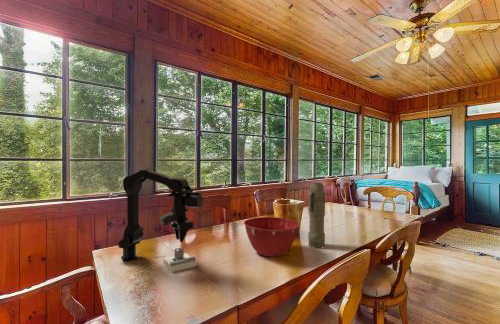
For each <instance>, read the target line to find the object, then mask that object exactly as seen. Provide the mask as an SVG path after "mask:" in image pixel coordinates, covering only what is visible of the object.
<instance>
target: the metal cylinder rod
mask: <svg viewBox="0 0 500 324" xmlns="http://www.w3.org/2000/svg"><path fill="white" fill-rule="evenodd" d="M184 250H185V249H184V248H183V247H179V248H174V256H175V260H174V261H178V260H182V259H184V254H185V252H184Z"/></svg>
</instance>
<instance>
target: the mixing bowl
mask: <svg viewBox="0 0 500 324" xmlns="http://www.w3.org/2000/svg"><path fill="white" fill-rule="evenodd" d="M243 224H244V228H245V231H246V234H247V238H248V240H249V243H250V245H251V247H252V249H254V251H255V252H256V253H258V254H259V255H261V256H264V257H269V256H270V257H272V258H274V257H280V256H283V255H284V254H286V253H288V251H289V250H290V249H291V247H292V245H293V243H294V241H295V240H296V236H297V234H298V229H299V227H300V223H299V222H298V221H296V220H293V219H290V218H286V217H285V218H284V217H275V216H273V217H271V216H261V217H253V218H248V219H245V220H244V221H243Z"/></svg>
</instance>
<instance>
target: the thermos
mask: <svg viewBox="0 0 500 324" xmlns="http://www.w3.org/2000/svg"><path fill="white" fill-rule="evenodd" d="M325 192H326V191H325V187H324V184H323V183H321V182H312V183H311V184H310V187H309V192H308V198H307V199H308V201H307V204H308V205H307V210H308V215H309V231H308V239H307V240H308V247H310V246H311V247H310V248H312V247H314V248H313V249H323V248H322V247H324V248H325V243H326V234H325V215H326V193H325Z"/></svg>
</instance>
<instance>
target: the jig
mask: <svg viewBox="0 0 500 324" xmlns="http://www.w3.org/2000/svg"><path fill="white" fill-rule="evenodd" d="M174 260H175V255H172V256H167V257H164V258H163V261H162V262H163V265H164V266H165V267H166V268H167V269H168V270H169V271H170V273H175V272H179V271H181V270H186V269H190V268H194V267H196V266H197V265H196V264H197V259H196V257H195V256H190V254H188V253H187V252H186V253H185V252H184V259H182V260H178V261H174Z"/></svg>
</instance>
